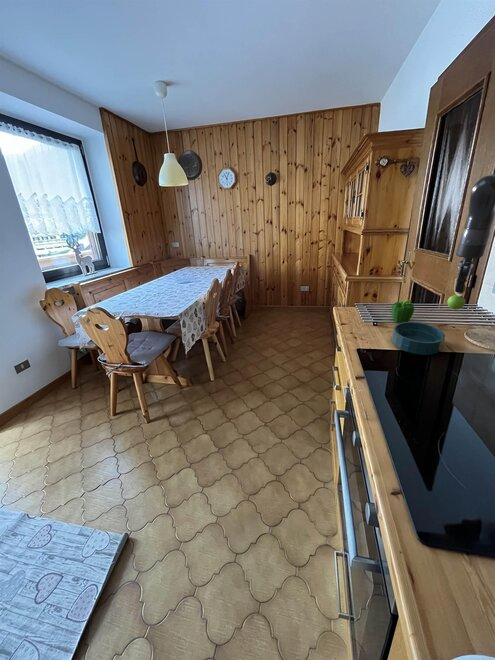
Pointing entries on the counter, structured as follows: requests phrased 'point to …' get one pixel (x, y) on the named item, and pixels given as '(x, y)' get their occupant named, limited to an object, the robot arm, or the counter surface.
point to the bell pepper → (402, 311)
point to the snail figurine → (456, 298)
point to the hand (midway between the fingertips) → (459, 289)
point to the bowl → (418, 338)
